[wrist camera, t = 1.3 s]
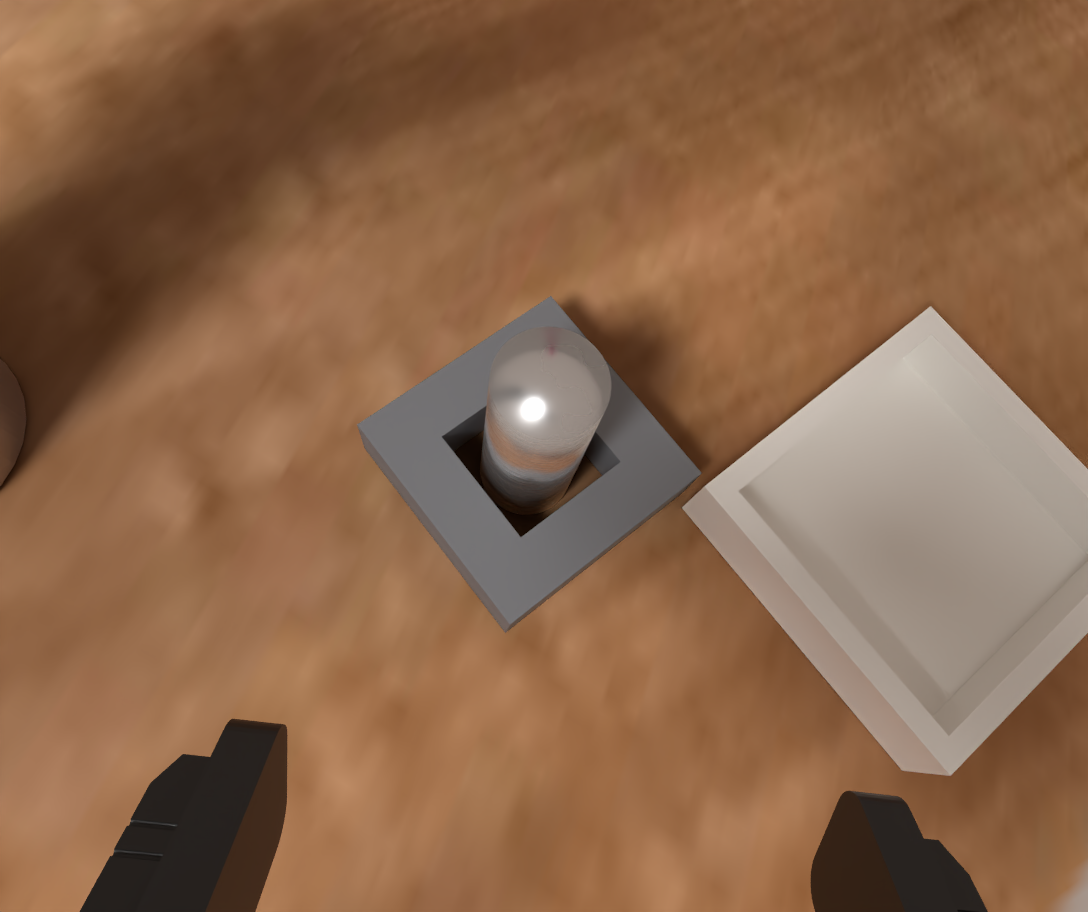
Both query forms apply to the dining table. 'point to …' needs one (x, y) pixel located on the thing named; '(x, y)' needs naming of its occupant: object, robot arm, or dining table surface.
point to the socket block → (471, 516)
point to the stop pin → (540, 416)
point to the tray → (914, 543)
